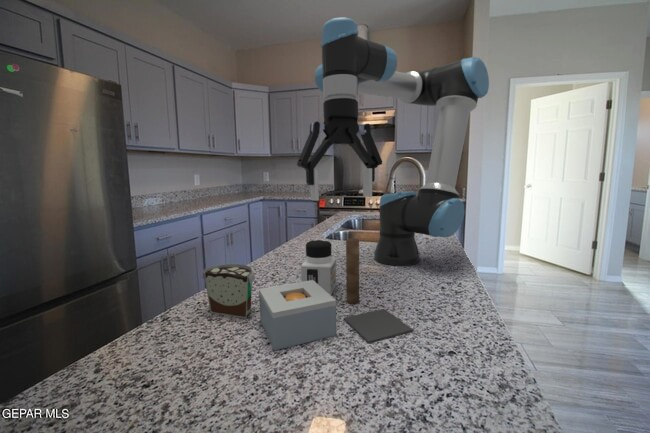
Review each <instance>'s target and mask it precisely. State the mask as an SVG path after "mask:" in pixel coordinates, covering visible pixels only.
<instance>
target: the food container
mask: <svg viewBox="0 0 650 433" xmlns="http://www.w3.org/2000/svg"><path fill="white" fill-rule="evenodd" d="M201 276H202V279H204V281H205V286H206V287H205V288H206V293H207V295H206V296H207V300H208V306H209V312H210V314H215V315H222V316H228V317H232V318H233V317H235V318H239V319H248V318H249V317H250V315H251V313H252V290H253V289H252V286H253V285H252V284H253V283H254V281H255V279H256V277H255V273H254V270H253V269H252V267H251V266H250V265H247V264H242V263H225V264H218V265H213V266H210V267H206V268H204V269H203V271H202V275H201Z"/></svg>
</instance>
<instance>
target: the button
mask: <svg viewBox="0 0 650 433" xmlns="http://www.w3.org/2000/svg"><path fill="white" fill-rule="evenodd" d="M303 298H306V296H305V294H302V293H291V294H288V295H286V297H285V300H286V301H292V300H297V299H303Z"/></svg>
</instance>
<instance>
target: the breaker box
mask: <svg viewBox="0 0 650 433" xmlns="http://www.w3.org/2000/svg"><path fill="white" fill-rule="evenodd" d="M291 293H302V294H305V296H306V298H303V299H297V300H292V301H286V300H285V297H286V295H288V294H291ZM258 301H259V302H258V303H259V318H260V323H261V325H262V327H263V330H264V332H265V333H266V336H267V338H268V340H269V342H270V344H271V346H272V349H273V350H274V351H278V350H282V349H285V348H291V347H296V346H298V345H303V344H307V343H310V342H314V341H315V342H316V341H318V340H323V339H326V338H331V337H335V336H337V299H336V298H334V297H333V296H332V295H329V294H328V293H327V292H326V291H325V290H324V289H323V288H321V287H320V286H319V285H318V284H317V283H316V282H315V281H314V280H310V281H304V282H301V281H299V282H298V281H297V282H292V283H287V284H281V285H275V286H269V287H263V288H258Z"/></svg>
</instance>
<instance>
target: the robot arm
mask: <svg viewBox="0 0 650 433" xmlns="http://www.w3.org/2000/svg"><path fill="white" fill-rule="evenodd" d="M320 47H321V61H322V62H321V64H319V65H318V67H316V70H315V71H314V82H315V85H316V87H317V88H318V89H319V90H318V91H321V92H322V95H323V96H322V97H323V100H324V102H323V104H322V105H323V107H322V108H323V123H320V121H314V122H312V123H310V125H309V134H308V136H307V139H306V141H305V144H304V145H303V148H302V151H301V153H300V155H299V158H298V160H297V163H296V165H297V167H298V168H301V169H304V170H305V178H306V179H305V180H306V185H307V186H310V187H309V188H310V189H309V190H310V192H309V193H310V200H311V201H313V202H314V201H316V202H317V201H318V202H319V201H320V197H319V196H320V194H319V192H320V191H319V170H318V169H315V168H316V167H317V165H318V164H319V162H320V161H321V160H322V158H323V156H324V155H326V153H327V151H328V150H329V149H330V147H331V146H333V145H345V146H346V145H348V146H349V147H351V148H352V149H353V151H354V152H355V154H356V155H357V156H358V158H359V159H360V160H361V162H362V164H363V165H364V166H365V167H366V168H365V167H364V168H362V196H363V197H368V198H369V197H370V198H372V197H373V183H374V182H375V179H376V178H375V174H376V172H375V171H376V170H375V169H377V168H378V166H381V165H383V160H382V157H381V155H380V153H379V150H378V148H377V145H376V142H375V141H374V138H373V136H372V131H371V124H369V123H364V124H360V125H359V123H358V118H359V102H358V100H357V99H358V98H359V94H363V95H368V96H369V95H371V96H378V97H384V98H390V99H391V98H392V99H399V100H400V101H401V102H402V103H405V104H412V105H419V106H429V107H430V106H431V107H432V106H433V107H434V106H436V107H437V109H438V110H439V115H438V120H437V124H436V128H435V134H434V140H433V145H432V148H431V149H432V150H431V154H430V159H429V163H428V164H429V165H428V169H427V175H426V180H425V184H424V185H422V186H421V187H419V189H418V194H417V193H416V191H414V190H412V191H402V192H395V193H394V192H392V193H385V194H383V195H381V197H380V199H379V200H380V201H379V206H378V207H379V236H378V241H377V243H376V247H375V250H374V256H373V257H374V258H373V259H374V261H376V262H378V263H380V264H383V265H384V264H385V265H389V266H411V265H416V264H418V263H419V262H420V251H419V249H418V245H417V242H416V238H415V234H419V235H426V236H431V237H435V238H438V237H439V238H449V237H451V236H453V235H455V233H456V232H457V231H458V230H459V229H460V228H461V225H462V223H463V220H464V217H465V205H464V202H463V201H462V200H461V199H459V198H460V194H459V192H458V191H457V189H456V185H457V180H458V175H459V169H460V164H461V160H462V154H463V149H464V144H465V138H466V134H467V128H468V124H469V118H470V114H471V112H472V111H474V110H475V109H476V108H477V106H478V105H477V104H478V99H482V98H483V97H486V96H487V94H488V93H489V88H490V80H489V73H488V70H487V66H486V65H485V62H484V61H483V60H482V59H481V58H480V57H477V56H472V57H468V58H462V59H461V60H457V61H454V62H450V63H447V64H443V65H440V66H436V67H431V68H430V69H429V68H428V69H427V70H422V71H414V70H411V71H407V72H403V71H402V72H401V71H396V70H397V69H398V68H397V67H398V56H397V53H396V51H395V50H394V49H392V48H391V47H388V46H387V45H384V44H382V43H378V42H374V41H371V40H368V39H365V38H363V37H360V36H359V31H358V24H357V22H355V20H354V19H352V18H349V17H344V16H343V17H342V16H341V17H334V18H331V19H329V20H327V21H326V22H325V23H324V24H323V25H322V29H321V45H320ZM322 131H323V133H324V134H325V137H324V138H323V139H322V141H321V143H320V145H319V146H318V147H317V149H316V150H315V152H314V153H313V154H312V152H313V150H314V149H315V146H316V143H317V140H318V138H319V135H320V134H321V133H322ZM357 134H359V135H360V137H361V139H360V138H359V136H358V135H357ZM361 140H362V142H363V144H362V143H361ZM363 145H364V146H363Z"/></svg>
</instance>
